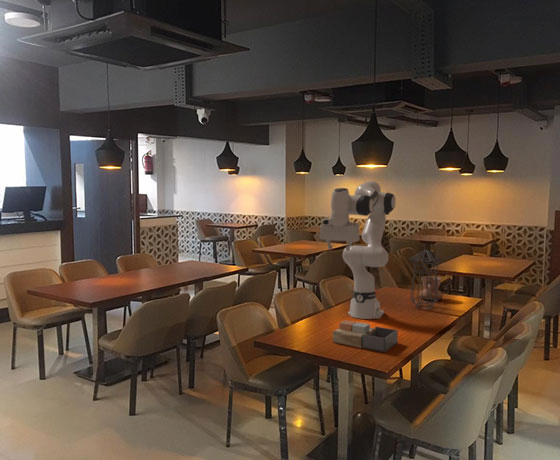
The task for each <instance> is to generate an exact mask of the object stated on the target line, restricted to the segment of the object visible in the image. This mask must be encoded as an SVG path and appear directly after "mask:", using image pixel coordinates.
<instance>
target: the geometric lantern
mask: <svg viewBox="0 0 560 460" xmlns="http://www.w3.org/2000/svg"><path fill="white" fill-rule="evenodd" d="M425 255H427V258H426V257H425ZM409 260H410V262H412V263H413V274H412V275H413V276H412V284H411V292H410V301H411V302H412V303H413V304H415V305H414V306H415V309H418V310H424V311H430V310H432V309H433V308H434V305H435V304H436V303H438V302H439V300H438V290H439V288H438V287H437V300H436V286H437V277H438V271H439V270H438V268H439V264H440V262H441V261H442V260H443V258H441V257H440V256H438V255H437V254H435V253H433V252H431V251H430V250H428V249H424V250H422V251H421V252H418V253H417V254H415V255H413V256H411V257H409ZM419 262H421V264H419ZM424 262H425V263H424ZM431 262H432V263H431ZM428 265H432V267H431V269H430V270H427V267H428ZM421 266H422V267H423V269H420V267H421ZM434 267H436V270H435V268H434ZM417 268H418V270H416V269H417ZM422 272H424V273H422ZM416 273H418V286H417V296H416V297H414V294H415V275H416ZM424 274H426V276H427V298H422V292H421V291H423V290H424V286H423V277H424ZM432 274H435V276H434V277H435V299H432V291H431V299H430V300H431V301H430V300H428V299H429V298H428V276H430V289H431V276H432ZM421 275H422V276H421ZM421 278H422V279H421ZM420 279H421V291H420ZM420 292H421V297H420V296H419V293H420ZM416 299H417V300H416ZM425 299H427V300H426V301H423V300H425ZM432 300H436V301H432ZM429 301H430V302H429ZM416 302H417V303H416ZM424 304H426V305H424ZM421 307H426V308H421Z"/></svg>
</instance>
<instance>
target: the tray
mask: <svg viewBox="0 0 560 460" xmlns="http://www.w3.org/2000/svg"><path fill="white" fill-rule="evenodd" d="M374 328H375V331H374V332H372V333H371V334H369V335H363V334H362V347H361V349H365V350H369V351H376V352H380V353H386V352H387V351H389V350H390V349H391V348H393V347H394V346H396V345H397V344H398V332H399V331H398V329H392V328H386V327H381V326H375V327H374Z"/></svg>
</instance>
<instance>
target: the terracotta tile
mask: <svg viewBox="0 0 560 460" xmlns="http://www.w3.org/2000/svg"><path fill="white" fill-rule="evenodd" d="M356 323H357V321H353V320H352V321H351V320H345V319H344V320H342V321H341V322H339V323H338V324H339V327H338V329H341V330H346V331H352V325H354V324H356Z"/></svg>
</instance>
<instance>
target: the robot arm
mask: <svg viewBox="0 0 560 460" xmlns="http://www.w3.org/2000/svg"><path fill="white" fill-rule="evenodd" d="M396 203H397V202H396V196H395V195H394V194H393V193H391V192H383V191H382V192H381V186H380V184H379V183H378V182H376V181H373V180H371V181H370V180H369V181H366V182H364V183H363V182H362V183H361V184H359V185H358V186H357V187H356V188H355V191H354V195H351V194H350V192H349V189H348V188H345V187H340V188H338V187H337V188H335V189H333V191H332V192H331V200H330V208H331V212H330V217H329V218H325V219H322V220H321V221H320V222H321V223H320V224H321V226H320V229H319V239H320V240H323V241H324V240H325V242H326V245H327V249H328V250H333V245H331V241H339V242H347V246H345V248H344V249H343V252H342V259H343V261H344V262H345V263H346V264H347V266H348V267H349V268H350V270H351V272H352V275H353V291H352V292H353V293H352V297H353V298H351V300H350V305H349V307H350V308H349V311H348V312H347V314H348V315H349V316H350V317H352V318H355V319H362V320H363V319H364V320H372V319H374V320H375V319H381V318H382V316H383V315H384V313H385V311H384V310H383V309H380V308H381V303H380V301H379V300H378V299H377V298H376V295H377V294H378V291H377V290H375V284H376V283H375V280H376V279H375V277H374V274H372V273H370V272H369V271H368V270H367V267H370V268H380V267H385V266H386V265H387V263H388V261H389V253H388V252H387V250H386V248H384V246H383V245H382V238H383V234H384V231H385V226H386V218H387V217H386V216H388V215H390V213H392V212H393V210H394V209H395V207H396ZM350 215H351V216H352V215H355V216H364V217H367V216H368V217H367V218H366V221H365V224H364V225H363V229H362V233H361V239H362V241H363V242H364V243H365V244H367V245H352V244H353V243H357V242H359V241H360V224H359V223H358V222H355V221H354V222H353V221H352V222H351V221H350Z"/></svg>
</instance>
